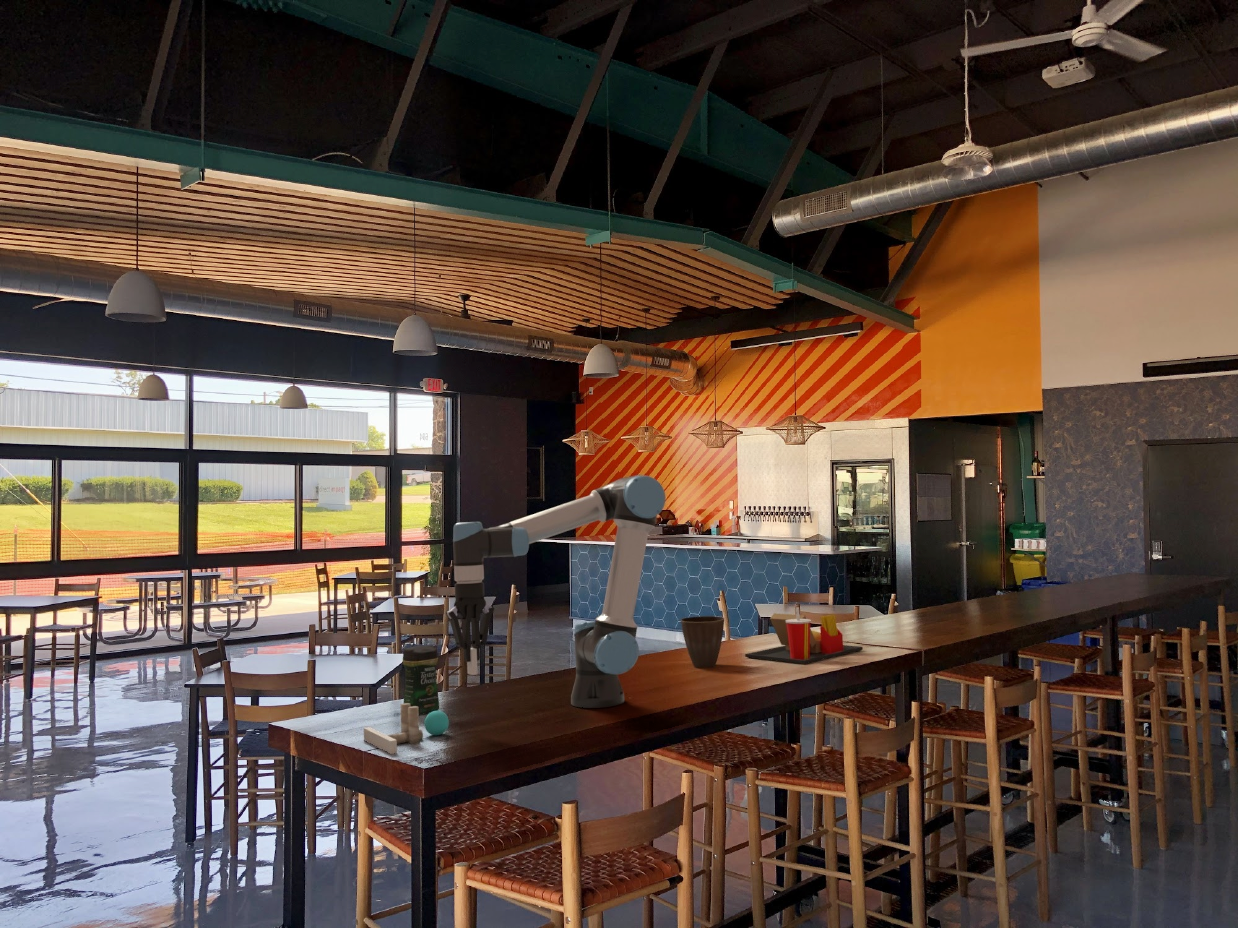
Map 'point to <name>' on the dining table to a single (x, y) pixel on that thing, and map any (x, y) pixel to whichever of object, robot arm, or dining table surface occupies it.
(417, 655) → the coffee jar
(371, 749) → the dining table surface
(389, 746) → the back wall
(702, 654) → the plant pot
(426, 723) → the ball
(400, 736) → the front pin
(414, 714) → the pin
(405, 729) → the pin
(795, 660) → the fast food meal
